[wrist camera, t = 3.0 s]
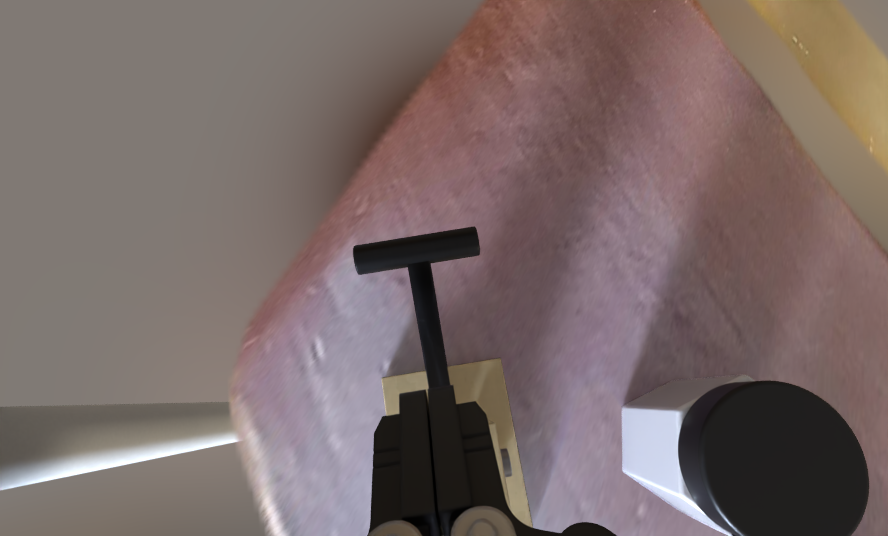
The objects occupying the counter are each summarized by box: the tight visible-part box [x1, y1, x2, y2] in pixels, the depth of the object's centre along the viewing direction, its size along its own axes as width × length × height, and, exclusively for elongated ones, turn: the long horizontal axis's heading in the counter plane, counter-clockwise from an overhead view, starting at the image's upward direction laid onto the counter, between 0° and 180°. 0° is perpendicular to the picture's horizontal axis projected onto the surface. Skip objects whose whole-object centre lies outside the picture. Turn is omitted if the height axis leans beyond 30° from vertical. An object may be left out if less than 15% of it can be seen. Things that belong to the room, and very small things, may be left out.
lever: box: [353, 227, 480, 389], centre depth 24 cm, size 14×6×2 cm, turn 9°
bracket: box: [382, 358, 533, 528], centre depth 29 cm, size 12×9×12 cm
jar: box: [622, 374, 869, 536], centre depth 29 cm, size 9×8×12 cm
